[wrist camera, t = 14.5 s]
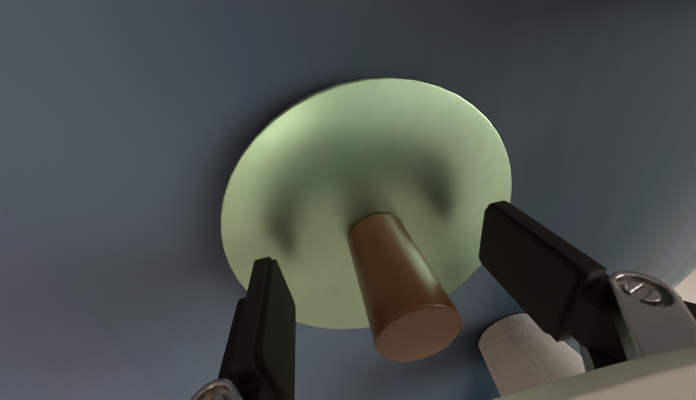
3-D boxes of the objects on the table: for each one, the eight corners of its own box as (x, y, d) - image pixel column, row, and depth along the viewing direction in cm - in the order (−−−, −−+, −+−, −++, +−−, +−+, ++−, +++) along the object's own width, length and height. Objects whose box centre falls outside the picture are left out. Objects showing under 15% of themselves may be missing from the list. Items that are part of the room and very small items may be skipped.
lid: (218, 306, 14) (167, 458, 9) (243, 19, 8) (134, -62, 3) (428, 316, 18) (483, 425, 12) (548, 126, 12) (749, 178, 7)
